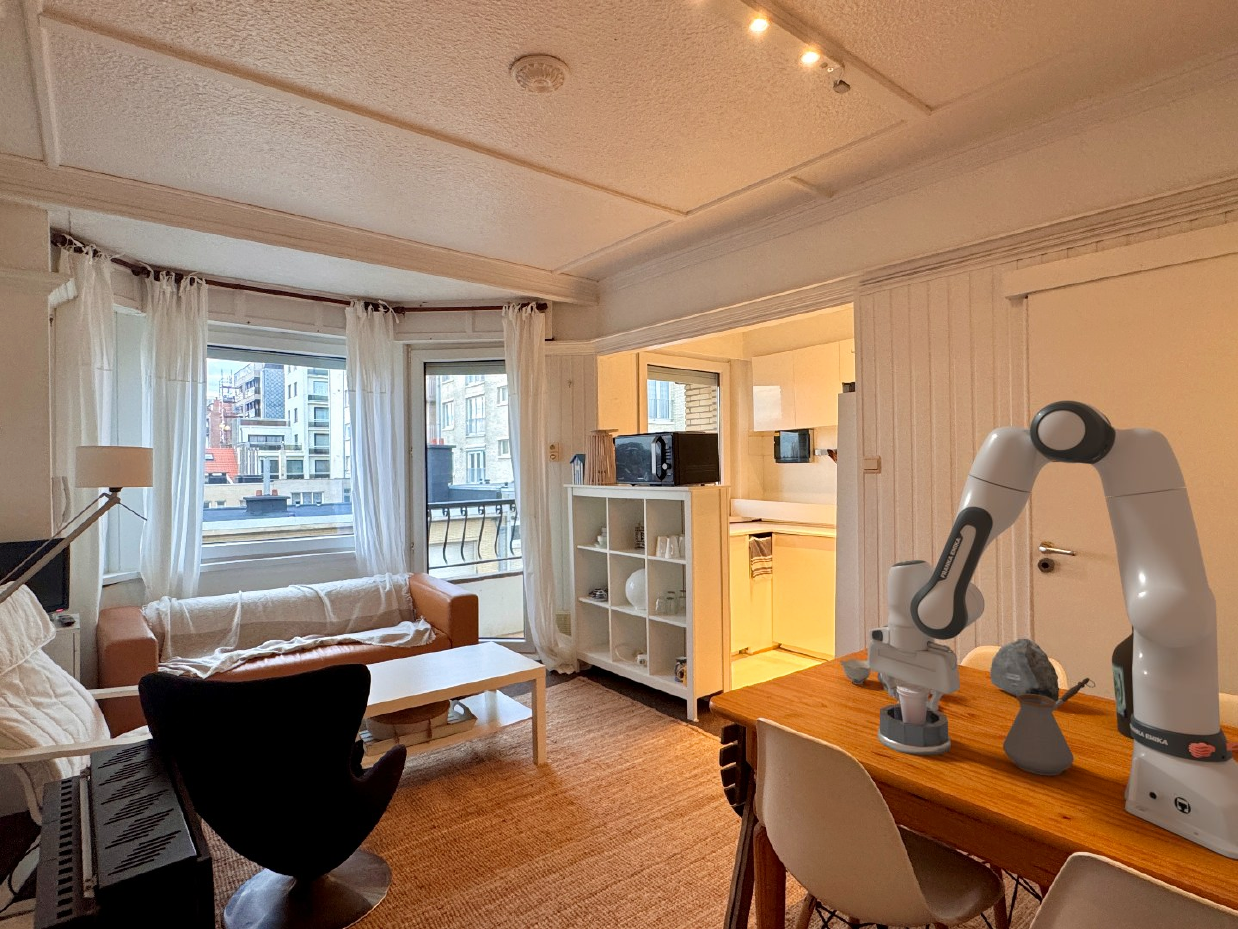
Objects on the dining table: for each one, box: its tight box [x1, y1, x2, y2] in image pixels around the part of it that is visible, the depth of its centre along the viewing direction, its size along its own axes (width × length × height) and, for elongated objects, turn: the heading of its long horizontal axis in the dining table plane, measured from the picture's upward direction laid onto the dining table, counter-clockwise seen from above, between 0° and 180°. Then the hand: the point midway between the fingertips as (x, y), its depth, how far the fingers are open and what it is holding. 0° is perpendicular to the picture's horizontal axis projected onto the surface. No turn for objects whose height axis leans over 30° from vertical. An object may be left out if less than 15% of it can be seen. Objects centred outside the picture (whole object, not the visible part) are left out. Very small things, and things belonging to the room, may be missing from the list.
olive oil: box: [1111, 625, 1134, 740], centre depth 140 cm, size 11×11×25 cm
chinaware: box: [839, 658, 913, 704], centre depth 171 cm, size 28×17×17 cm, turn 25°
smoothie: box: [897, 683, 931, 724], centre depth 139 cm, size 6×6×14 cm
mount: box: [877, 703, 952, 757], centre depth 139 cm, size 14×14×6 cm
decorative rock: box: [989, 638, 1060, 702], centre depth 163 cm, size 16×7×15 cm, turn 14°
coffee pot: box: [1002, 677, 1096, 776], centre depth 128 cm, size 21×12×15 cm, turn 111°
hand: (912, 702), depth 139 cm, fingers open, 8 cm apart
